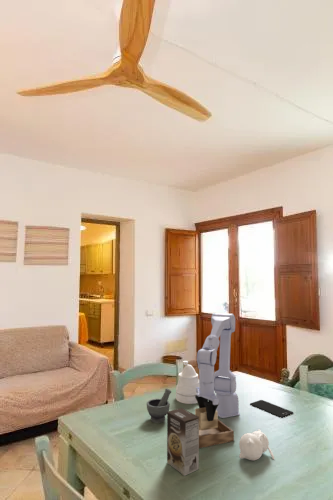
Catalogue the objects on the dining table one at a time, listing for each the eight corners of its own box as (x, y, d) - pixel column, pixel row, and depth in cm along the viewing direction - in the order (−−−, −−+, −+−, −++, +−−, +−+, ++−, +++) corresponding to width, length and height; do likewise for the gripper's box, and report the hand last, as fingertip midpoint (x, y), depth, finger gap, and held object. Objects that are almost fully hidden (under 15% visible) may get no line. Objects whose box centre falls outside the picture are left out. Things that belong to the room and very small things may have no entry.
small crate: (211, 422, 127) (211, 406, 128) (217, 427, 122) (217, 411, 123) (195, 424, 125) (195, 408, 125) (201, 430, 120) (201, 413, 120)
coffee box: (166, 463, 105) (166, 411, 106) (181, 456, 109) (181, 406, 110) (184, 476, 98) (184, 421, 99) (199, 469, 102) (199, 415, 103)
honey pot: (171, 400, 159) (171, 362, 161) (183, 392, 170) (183, 357, 172) (194, 405, 152) (194, 366, 154) (206, 397, 163) (205, 360, 165)
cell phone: (281, 419, 139) (281, 417, 139) (249, 405, 154) (249, 403, 154) (294, 414, 144) (294, 412, 144) (261, 401, 159) (261, 399, 159)
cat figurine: (260, 420, 115) (242, 430, 107) (284, 447, 108) (267, 459, 100) (248, 438, 118) (229, 448, 109) (271, 464, 111) (253, 478, 102)
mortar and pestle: (152, 426, 131) (153, 396, 132) (142, 418, 139) (143, 389, 140) (176, 420, 136) (176, 391, 137) (165, 412, 144) (165, 385, 145)
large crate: (214, 424, 133) (214, 415, 133) (234, 441, 119) (233, 431, 120) (181, 430, 127) (181, 421, 128) (198, 448, 114) (198, 438, 114)
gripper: (189, 376, 130) (189, 411, 129) (206, 388, 117) (206, 427, 116) (204, 375, 133) (204, 409, 132) (223, 386, 120) (223, 424, 118)
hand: (206, 417), depth 124 cm, fingers closed on small crate, 5 cm apart
